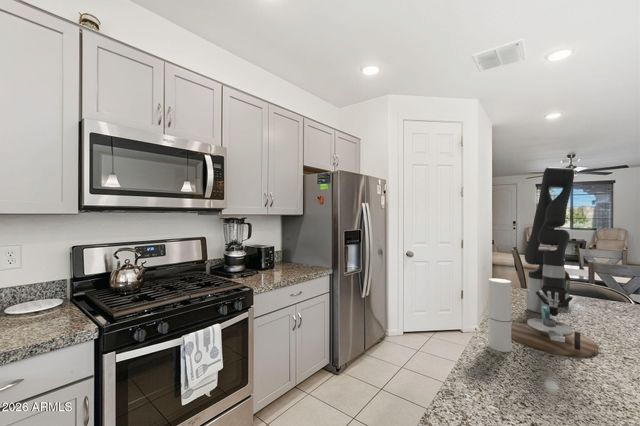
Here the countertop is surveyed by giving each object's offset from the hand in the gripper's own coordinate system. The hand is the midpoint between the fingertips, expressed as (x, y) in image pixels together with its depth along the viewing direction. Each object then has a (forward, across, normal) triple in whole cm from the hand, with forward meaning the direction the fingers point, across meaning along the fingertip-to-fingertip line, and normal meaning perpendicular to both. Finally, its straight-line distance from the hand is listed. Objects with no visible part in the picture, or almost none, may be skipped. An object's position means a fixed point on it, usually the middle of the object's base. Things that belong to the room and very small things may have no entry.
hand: (553, 315), depth 123 cm
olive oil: (+7, -6, +49) cm, 50 cm away
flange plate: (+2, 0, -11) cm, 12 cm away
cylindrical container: (+6, -10, -36) cm, 38 cm away
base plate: (+6, 0, -13) cm, 15 cm away
